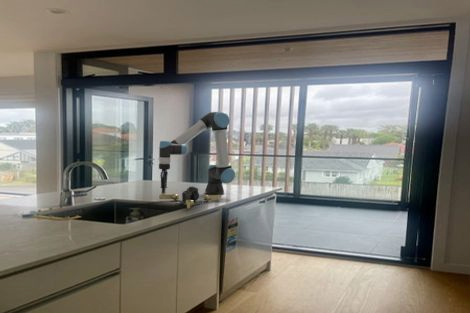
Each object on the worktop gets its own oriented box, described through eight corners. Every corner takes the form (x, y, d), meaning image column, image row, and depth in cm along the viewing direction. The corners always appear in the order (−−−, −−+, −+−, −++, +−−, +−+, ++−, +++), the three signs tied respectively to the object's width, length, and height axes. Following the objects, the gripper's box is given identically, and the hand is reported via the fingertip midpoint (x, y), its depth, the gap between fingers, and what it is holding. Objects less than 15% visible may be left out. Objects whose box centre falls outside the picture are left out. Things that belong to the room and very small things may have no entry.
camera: (195, 203, 237) (195, 188, 237) (180, 202, 239) (181, 187, 238) (200, 200, 250) (201, 185, 250) (186, 199, 252) (187, 184, 252)
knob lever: (177, 199, 253) (178, 193, 253) (179, 200, 248) (179, 195, 248) (158, 199, 248) (158, 194, 248) (159, 201, 244) (159, 195, 244)
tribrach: (190, 196, 270) (190, 190, 269) (221, 200, 258) (222, 194, 257) (153, 205, 232) (153, 198, 231) (188, 211, 220) (189, 203, 219)
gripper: (161, 162, 253) (160, 195, 255) (157, 164, 241) (155, 198, 243) (171, 162, 253) (170, 195, 255) (168, 164, 241) (167, 199, 242)
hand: (163, 197), depth 249 cm, fingers closed
